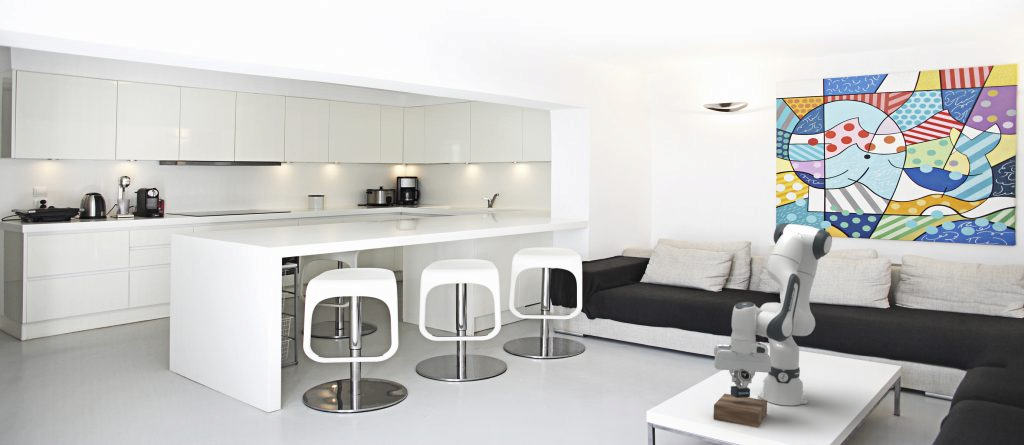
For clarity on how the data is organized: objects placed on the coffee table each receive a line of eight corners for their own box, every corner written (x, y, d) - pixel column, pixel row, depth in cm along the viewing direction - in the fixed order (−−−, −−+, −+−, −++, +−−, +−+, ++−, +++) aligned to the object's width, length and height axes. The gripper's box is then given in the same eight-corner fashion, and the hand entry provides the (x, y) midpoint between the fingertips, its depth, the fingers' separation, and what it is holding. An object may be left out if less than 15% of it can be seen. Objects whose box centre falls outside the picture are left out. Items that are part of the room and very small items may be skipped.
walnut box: (724, 408, 284) (724, 393, 284) (766, 415, 276) (767, 400, 276) (713, 420, 270) (713, 404, 270) (757, 428, 262) (758, 412, 262)
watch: (738, 399, 268) (740, 370, 267) (728, 392, 276) (729, 364, 275) (752, 398, 269) (754, 369, 268) (741, 392, 277) (743, 363, 276)
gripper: (715, 346, 270) (713, 382, 271) (772, 349, 266) (771, 386, 267) (713, 342, 276) (712, 377, 277) (769, 345, 272) (768, 381, 273)
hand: (741, 382), depth 272 cm, fingers closed on watch, 4 cm apart
